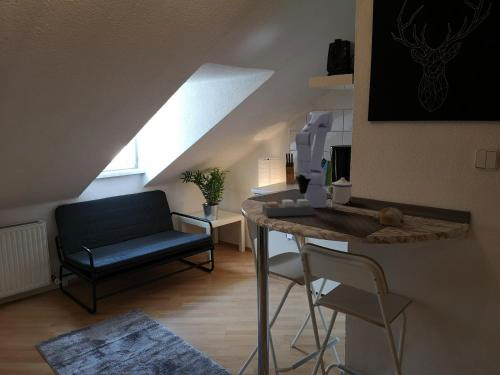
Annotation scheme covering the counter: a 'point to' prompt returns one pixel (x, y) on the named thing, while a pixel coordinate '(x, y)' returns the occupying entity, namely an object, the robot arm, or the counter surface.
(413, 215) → the counter surface
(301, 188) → the robot arm
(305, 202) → the sage key
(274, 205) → the brown cube
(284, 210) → the keypad
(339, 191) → the teacup with lid
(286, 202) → the cream cube
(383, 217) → the bread roll
